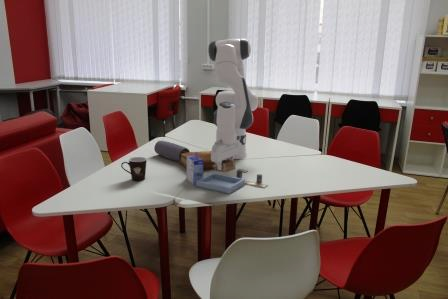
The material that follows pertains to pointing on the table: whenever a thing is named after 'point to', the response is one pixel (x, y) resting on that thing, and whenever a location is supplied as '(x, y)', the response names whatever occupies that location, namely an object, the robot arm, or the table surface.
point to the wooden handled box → (259, 180)
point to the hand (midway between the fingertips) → (225, 167)
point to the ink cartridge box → (194, 168)
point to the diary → (203, 155)
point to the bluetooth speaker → (169, 150)
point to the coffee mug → (137, 168)
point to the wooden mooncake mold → (226, 165)
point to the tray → (220, 183)
